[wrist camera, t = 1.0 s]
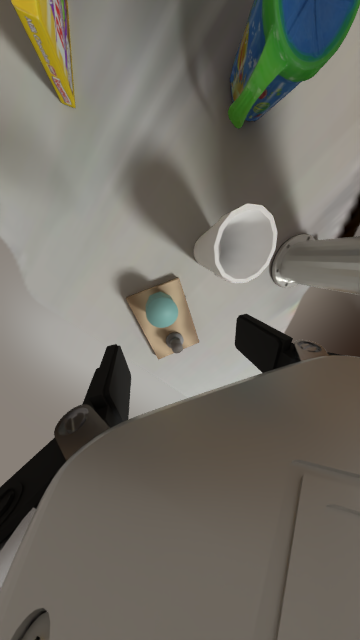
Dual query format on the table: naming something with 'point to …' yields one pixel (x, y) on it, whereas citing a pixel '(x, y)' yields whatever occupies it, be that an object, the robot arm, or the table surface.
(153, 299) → the cap
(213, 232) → the foam cup
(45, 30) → the candy box
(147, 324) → the board
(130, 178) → the table surface
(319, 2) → the snack cup
